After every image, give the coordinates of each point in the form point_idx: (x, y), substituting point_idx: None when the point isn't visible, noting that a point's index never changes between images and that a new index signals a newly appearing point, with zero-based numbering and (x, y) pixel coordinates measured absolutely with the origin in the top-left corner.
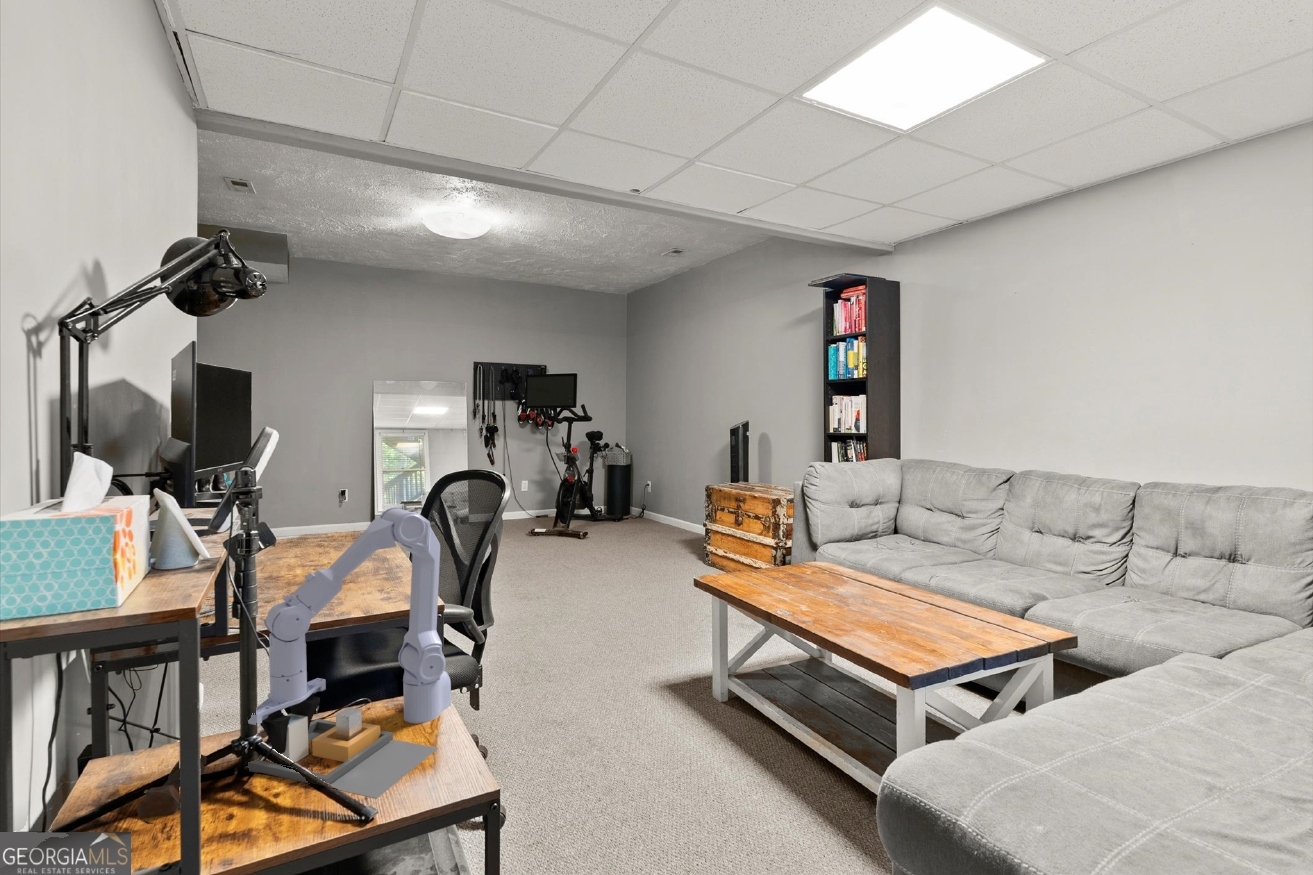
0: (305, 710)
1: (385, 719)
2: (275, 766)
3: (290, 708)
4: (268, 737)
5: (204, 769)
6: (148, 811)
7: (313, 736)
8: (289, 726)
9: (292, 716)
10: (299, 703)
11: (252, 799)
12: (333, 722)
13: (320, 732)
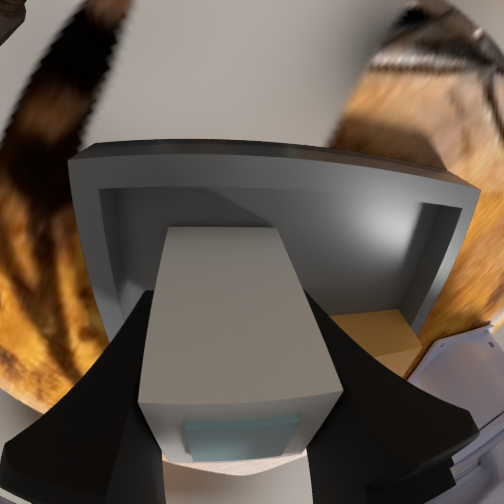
0: (317, 475)
1: (467, 301)
2: (112, 322)
3: (366, 419)
4: (107, 349)
5: (5, 34)
6: None
7: (397, 219)
8: (176, 461)
9: (280, 437)
10: (344, 497)
11: (41, 296)
12: (447, 269)
13: (421, 222)
